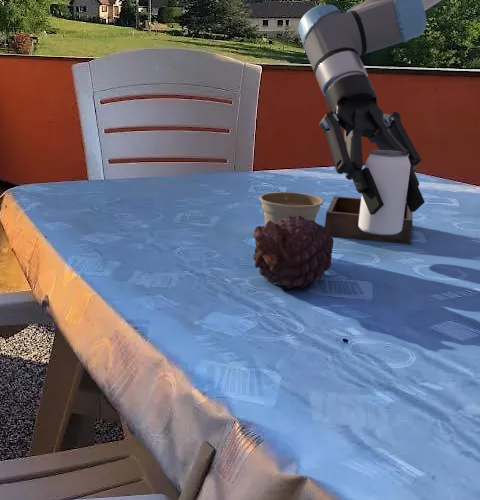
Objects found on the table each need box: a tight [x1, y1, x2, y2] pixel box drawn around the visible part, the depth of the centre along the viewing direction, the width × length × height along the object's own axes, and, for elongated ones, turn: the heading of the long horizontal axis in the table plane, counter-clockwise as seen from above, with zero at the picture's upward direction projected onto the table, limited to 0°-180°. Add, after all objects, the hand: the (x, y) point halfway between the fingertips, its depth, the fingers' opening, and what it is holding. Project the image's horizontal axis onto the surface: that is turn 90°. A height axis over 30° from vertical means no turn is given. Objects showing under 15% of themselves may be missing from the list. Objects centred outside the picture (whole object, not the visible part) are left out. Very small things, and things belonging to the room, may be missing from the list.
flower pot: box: [259, 191, 324, 225], centre depth 108 cm, size 9×9×9 cm
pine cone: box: [253, 216, 334, 290], centre depth 95 cm, size 18×10×10 cm
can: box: [358, 149, 411, 235], centre depth 108 cm, size 6×6×12 cm
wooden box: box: [324, 195, 414, 245], centre depth 123 cm, size 14×14×4 cm
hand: (397, 208), depth 105 cm, fingers closed on can, 6 cm apart
